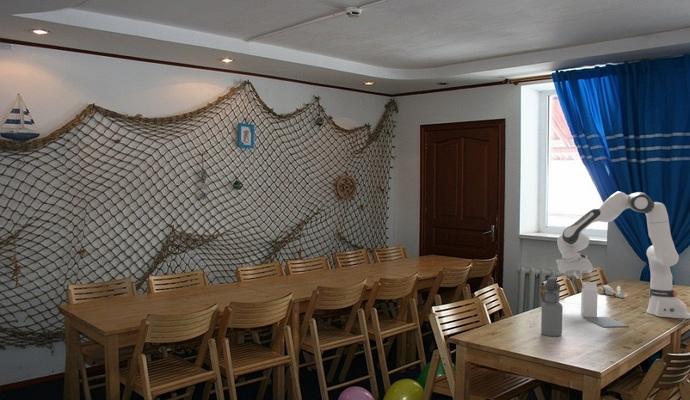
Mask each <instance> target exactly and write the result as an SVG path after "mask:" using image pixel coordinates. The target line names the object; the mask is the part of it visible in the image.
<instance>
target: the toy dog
mask: <svg viewBox="0 0 690 400" xmlns="http://www.w3.org/2000/svg"><path fill="white" fill-rule="evenodd" d="M597 290H598V293H597V295H603V294H604V295H607V296H611V297H615V298H618V297H619V298H620V299H624V298H625V297H626V298H627V297H628V294H627V293H626V294H625V293H624V292H623V290H622V289H621V285H618V286H617V287H616V291H615V290H614V288H612V287H611V286H609V285H608V284H607V281H606V280H604V281H603V285H602V287H597Z"/></svg>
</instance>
